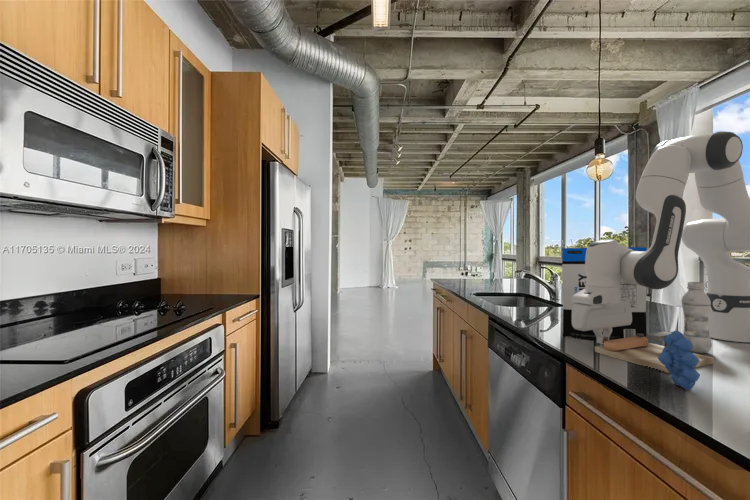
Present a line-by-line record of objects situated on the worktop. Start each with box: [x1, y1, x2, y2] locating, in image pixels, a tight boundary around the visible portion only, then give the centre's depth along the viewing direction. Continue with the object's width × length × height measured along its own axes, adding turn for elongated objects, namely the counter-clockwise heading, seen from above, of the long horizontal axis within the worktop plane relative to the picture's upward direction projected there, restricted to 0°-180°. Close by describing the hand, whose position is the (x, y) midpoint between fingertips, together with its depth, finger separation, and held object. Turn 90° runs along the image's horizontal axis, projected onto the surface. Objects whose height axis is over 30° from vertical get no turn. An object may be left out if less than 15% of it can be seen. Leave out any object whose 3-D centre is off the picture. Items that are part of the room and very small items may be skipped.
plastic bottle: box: [680, 281, 713, 354], centre depth 110 cm, size 6×7×20 cm
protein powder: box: [561, 246, 648, 342], centre depth 127 cm, size 10×24×30 cm, turn 71°
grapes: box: [658, 330, 701, 391], centre depth 86 cm, size 12×7×12 cm, turn 166°
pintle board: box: [594, 330, 715, 374], centre depth 106 cm, size 18×20×6 cm
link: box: [603, 336, 649, 351], centre depth 110 cm, size 15×4×2 cm, turn 111°
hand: (602, 342), depth 112 cm, fingers closed
